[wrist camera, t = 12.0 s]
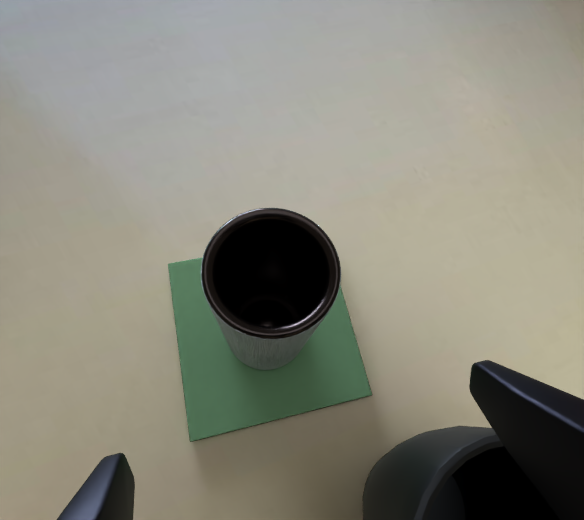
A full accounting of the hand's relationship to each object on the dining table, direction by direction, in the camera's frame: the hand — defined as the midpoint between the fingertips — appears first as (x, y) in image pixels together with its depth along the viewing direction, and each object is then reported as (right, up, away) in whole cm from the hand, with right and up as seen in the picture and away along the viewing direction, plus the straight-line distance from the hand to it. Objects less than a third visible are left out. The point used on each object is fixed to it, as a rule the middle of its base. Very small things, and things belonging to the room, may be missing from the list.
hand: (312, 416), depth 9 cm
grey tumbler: (-2, 0, +12) cm, 12 cm away
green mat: (-2, 0, +13) cm, 13 cm away
